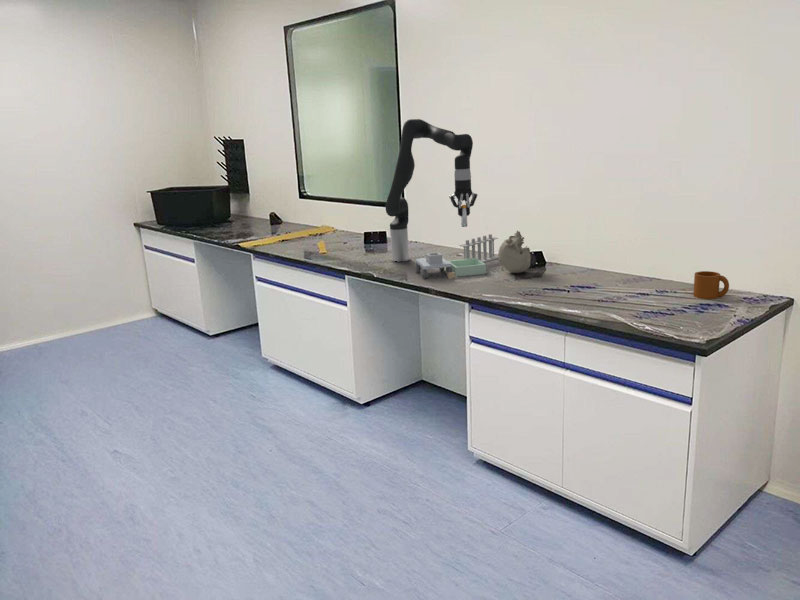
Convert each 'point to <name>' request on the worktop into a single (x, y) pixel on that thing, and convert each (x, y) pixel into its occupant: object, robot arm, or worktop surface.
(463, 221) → the stop pin
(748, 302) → the worktop surface
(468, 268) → the tray
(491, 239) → the test tube rack
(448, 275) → the grey stepped platform
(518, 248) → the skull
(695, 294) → the mug
